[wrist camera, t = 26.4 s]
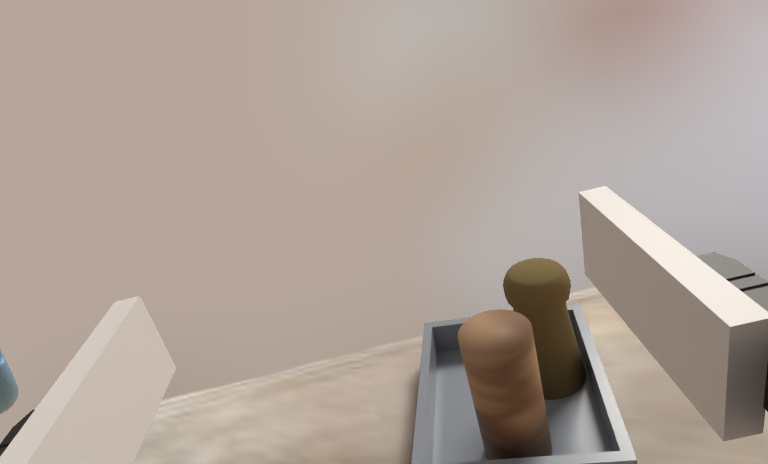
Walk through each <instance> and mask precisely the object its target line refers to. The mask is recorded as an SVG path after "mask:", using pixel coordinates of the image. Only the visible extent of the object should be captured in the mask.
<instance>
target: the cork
mask: <svg viewBox="0 0 768 464" xmlns="http://www.w3.org/2000/svg"><path fill="white" fill-rule="evenodd" d="M503 287H504V292H505V297H506V299H507V301H508V303H509V304H510V305H511V306H512V307H513V309H514V312H517V313H520V314H522V315H524V316H525V317H526V318H527V319H528V320H529V321H530V322H531V325H532V330H533V336H534V342H535V348H536V354H537V360H538V365H539V371H540V377H541V383H542V389H543V395H544V399H545V400H556V399H563V398H566V397H568V396H571V395H573V394H575V393H576V392H577V391H579V390H580V389H581V388H582V386H583V385H584V383H585V381H586V371H585V368H584V365H583V361H582V358H581V354H580V351H579V347H578V344H577V340H576V337H575V333H574V330H573V326H572V323H571V320H570V316H569V313H568V309H567V306H566V301H567V300H568V299H569V294H570V288H571V284H570V279H569V276H568V274H567V272H566V270H565V269H564V268H563V267H562V266H561V265H560V264H559V263H558V262H556V261H553V260H550V259H544V258H532V259H527V260H524V261H521V262H518V263H517V264H515V265H513V266H512V267H511V268H510V269H509V270H508V271H507V273H506V275H505V278H504V283H503Z"/></svg>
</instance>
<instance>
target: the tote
mask: <svg viewBox="0 0 768 464" xmlns="http://www.w3.org/2000/svg"><path fill="white" fill-rule="evenodd" d="M566 306H567V309H568V313H569V316H570V320H571V323H572V326H573V330H574V333H575V337H576V340H577V344H578V347H579V351H580V354H581V358H582V361H583V365H584V368H585V371H586V381H585V383H584V385H583V386H582V388H581V389H580V390H579V391H577V392H576V393H575V394H573V395H571V396H568V397H566V398H563V399H556V400H545V399H544V401H545V407H546V413H547V419H548V425H549V431H550V437H551V443H552V455H551V456H540V457H526V458H511V459H497V460H488V459H487V457H486V454H485V450H484V445H483V441H482V437H481V433H480V429H479V425H478V420H477V416H476V412H475V408H474V404H473V400H472V395H471V391H470V387H469V383H468V379H467V375H466V370H465V366H464V362H463V358H462V354H461V350H460V345H459V341H458V331H459V329H460V327H461V326H462V325H463V323H464V322H466V321H467V320H468V319H469V318H462V319H455V320H447V321H439V322H431V323H425V324H424V335H423V345H422V356H421V366H420V377H419V387H418V398H417V409H416V419H415V430H414V440H413V451H412V461H411V464H637V458H636V456H635V453H634V450H633V447H632V445H631V442H630V439H629V436H628V434H627V431H626V428H625V425H624V423H623V420H622V417H621V414H620V412H619V409H618V406H617V403H616V401H615V398H614V395H613V392H612V390H611V387H610V384H609V381H608V379H607V376H606V373H605V371H604V368H603V365H602V362H601V360H600V357H599V354H598V351H597V349H596V346H595V343H594V340H593V338H592V335H591V332H590V329H589V327H588V324H587V321H586V318H585V316H584V313H583V310H582V307H581V305H580V303H579V304H571V305H566ZM470 318H471V317H470Z"/></svg>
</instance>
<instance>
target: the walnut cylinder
mask: <svg viewBox="0 0 768 464" xmlns="http://www.w3.org/2000/svg"><path fill="white" fill-rule="evenodd" d="M458 341H459V345H460V350H461V354H462V358H463V362H464V366H465V370H466V375H467V379H468V383H469V387H470V391H471V395H472V400H473V404H474V408H475V412H476V416H477V420H478V425H479V429H480V433H481V437H482V441H483V445H484V450H485V454H486V457H487V459H488V460H497V459H511V458H526V457H540V456H551V455H552V443H551V437H550V431H549V425H548V419H547V413H546V407H545V401H544V395H543V389H542V383H541V377H540V371H539V365H538V360H537V354H536V348H535V342H534V336H533V330H532V325H531V322H530V321H529V320H528V319H527V318H526V317H525V316H524V315H522V314H520V313H517V312H514V311H510V310H491V311H486V312H482V313H479V314H477V315H475V316H473V317H471V318H469V319H468V320H467V321H466V322H464V323H463V325H462V326H461V327H460V329H459V331H458Z"/></svg>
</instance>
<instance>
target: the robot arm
mask: <svg viewBox="0 0 768 464" xmlns="http://www.w3.org/2000/svg"><path fill="white" fill-rule="evenodd" d="M579 202H580V215H581V227H582V239H583V252H584V265H585V274H586V276H587V277H588V278H589V279H590V280H591V282H592V283H593V284H594V285H595V287H596V288H597V289H598V290H599V291H600V293H601V294H602V295H603V296H604V297H605V299H606V300H607V301H608V302H609V304H610V305H611V306H612V307H613V308H614V310H615V311H616V312H617V313H618V314H619V316H620V317H621V318H622V319H623V320H624V322H625V323H626V324H627V325H628V327H629V328H630V329H631V330H632V331H633V333H634V334H635V335H636V336H637V337H638V339H639V340H640V341H641V342H642V343H643V345H644V346H645V347H646V348H647V349H648V351H649V352H650V353H651V354H652V356H653V357H654V358H655V359H656V360H657V362H658V363H659V364H660V365H661V366H662V368H663V369H664V370H665V371H666V372H667V374H668V375H669V376H670V377H671V379H672V380H673V381H674V382H675V383H676V385H677V386H678V387H679V388H680V389H681V391H682V392H683V393H684V394H685V395H686V397H687V398H688V399H689V400H690V402H691V403H692V404H693V405H694V406H695V408H696V409H697V410H698V411H699V412H700V414H701V415H702V416H703V417H704V418H705V420H706V421H707V422H708V423H709V425H710V426H711V427H712V428H713V429H714V431H715V432H716V433H717V434H718V435H719V437H720V438H721V439H722V440H723V441H727V440H732V439H737V438H741V437H746V436H751V435H755V434H760V433H763V427H764V417H765V409H766V410H767V411H768V282H767V281H766V280H765V279H763V278H762V277H760V276H759V275H755V273H754V272H753V271H752V270H750V269H749V268H747V267H746V266H744V265H743V264H742V263H740V262H739V261H737V260H734V259H732V258H728V257H725V256H723V255H720V254H717V253H715V252H714V253H709V254H705V255H701V256H695V255H694V254H693V253H691V252H690V251H689V250H687V249H686V248H685V247H683V246H682V245H681V244H680V243H678V242H677V241H676V240H674V239H673V238H672V237H671V236H669V235H668V234H667V233H665V232H664V231H663V230H661V229H660V228H659V227H658V226H656V225H655V224H654V223H652V222H651V221H650V220H649V219H647V218H646V217H645V216H643V215H642V214H641V213H639V212H638V211H637V210H636V209H634V208H633V207H632V206H630V205H629V204H628V203H627V202H625V201H624V200H623V199H621V198H620V197H619V196H618V195H616V194H615V193H614V192H612V191H611V190H610V189H608V188H607V187H606V186H604V187H599V188H595V189H591V190H586V191H583V192H579ZM175 369H176V367H175V365H174V363H173V361H172V359H171V357H170V355H169V353H168V351H167V349H166V347H165V345H164V343H163V341H162V339H161V337H160V335H159V333H158V331H157V329H156V327H155V325H154V323H153V321H152V320H151V317H150V315H149V313H148V312H147V309H146V307H145V306H144V304H143V301H142V300H141V298H140V296H137V297H133V298H129V299H125V300H120V301H116V302H114V304H113V305H112V307H111V308H110V309H109V311H108V312H107V313H106V315H105V316H104V317H103V319H102V320H101V321H100V323H99V324H98V325H97V327H96V328H95V329H94V331H93V332H92V333H91V335H90V336H89V338H88V339H87V340H86V342H85V343H84V345H83V346H82V347H81V348H80V350H79V351H78V352H77V354H76V355H75V356H74V358H73V359H72V360H71V362H70V363H69V365H68V366H67V367H66V369H65V370H64V371H63V373H62V374H61V375H60V377H59V378H58V379H57V381H56V382H55V383H54V385H53V386H52V387H51V389H50V390H49V392H48V393H47V394H46V396H45V397H44V398H43V400H42V401H41V402H40V404H39V405H38V406H37V408H36V409H35V410H32V411H31V412H30V413H29V414H28V415H26V416H25V417H24V418H23V419H22V420H21V421H20V422H19V423H17V424H16V425H15V426H14V427H13V428H12V429H11V431H10V432H9V433H8V435H7V436H6V437H5V438H4V440H3V441H2V442H1V444H0V464H133V462H134V460H135V458H136V456H137V453H138V451H139V449H140V447H141V445H142V442H143V440H144V438H145V436H146V434H147V431H148V429H149V427H150V425H151V422H152V420H153V418H154V416H155V414H156V411H157V409H158V407H159V405H160V403H161V400H162V398H163V396H164V394H165V391H166V389H167V387H168V385H169V383H170V380H171V378H172V376H173V374H174V371H175ZM17 396H18V387H17V384H16V381H15V379H14V377H13V374H12V372H11V370H10V368H9V366H8V364H7V362H6V360H5V358H4V356H3V354H2V353H1V351H0V414H2V413H3V412H5V411H7V410H8V409H9V408H10V407H11V406H12V405H13V404H14V403H15V401H16V399H17Z"/></svg>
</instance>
